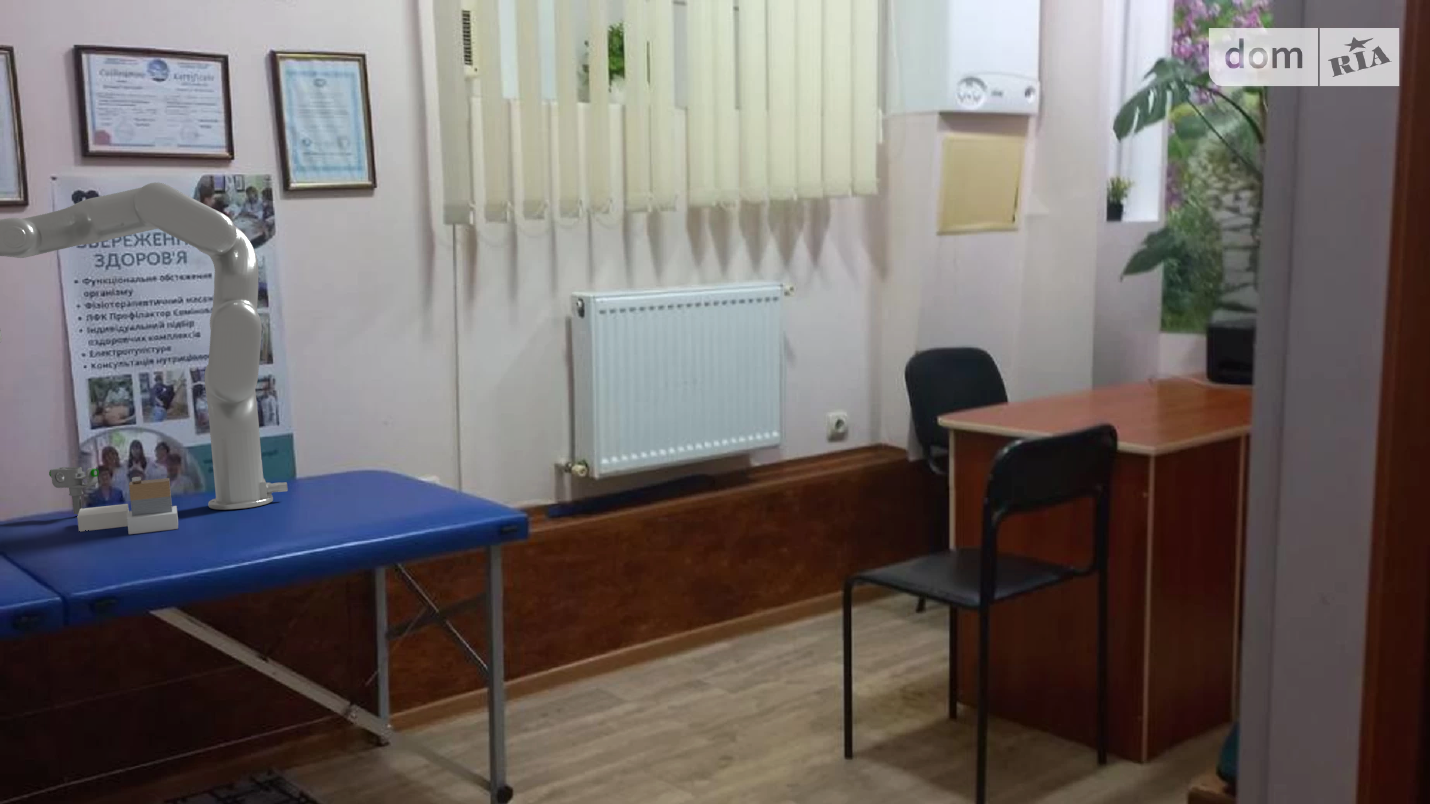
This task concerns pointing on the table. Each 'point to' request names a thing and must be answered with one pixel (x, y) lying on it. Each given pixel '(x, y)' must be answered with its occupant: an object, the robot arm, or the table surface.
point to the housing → (150, 496)
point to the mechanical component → (74, 482)
